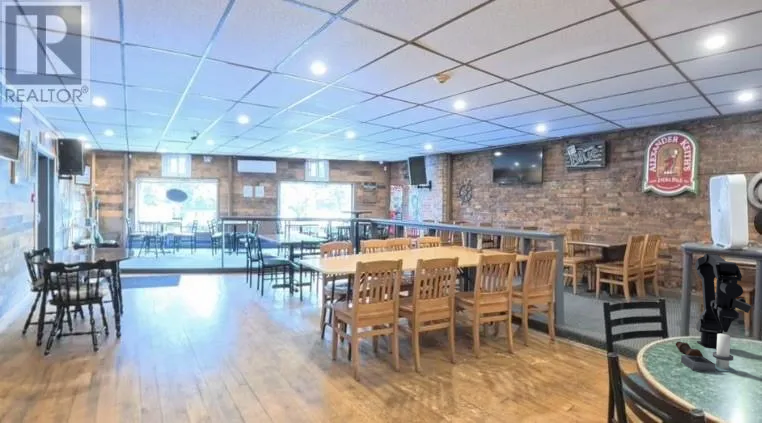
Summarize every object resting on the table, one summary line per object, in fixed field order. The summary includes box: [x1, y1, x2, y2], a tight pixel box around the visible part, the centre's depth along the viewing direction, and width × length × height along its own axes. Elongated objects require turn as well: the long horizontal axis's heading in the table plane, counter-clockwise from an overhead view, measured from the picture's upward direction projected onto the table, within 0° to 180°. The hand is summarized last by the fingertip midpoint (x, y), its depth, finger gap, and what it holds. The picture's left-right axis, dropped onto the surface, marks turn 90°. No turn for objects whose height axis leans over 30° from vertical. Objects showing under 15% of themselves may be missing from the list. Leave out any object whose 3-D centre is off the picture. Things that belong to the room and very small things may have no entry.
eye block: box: [680, 354, 716, 373], centre depth 167 cm, size 8×8×3 cm
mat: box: [714, 363, 739, 373], centre depth 166 cm, size 7×7×1 cm
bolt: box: [675, 341, 704, 357], centre depth 180 cm, size 6×5×15 cm
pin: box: [712, 333, 734, 369], centre depth 166 cm, size 6×6×13 cm
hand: (723, 328), depth 175 cm, fingers open, 9 cm apart
